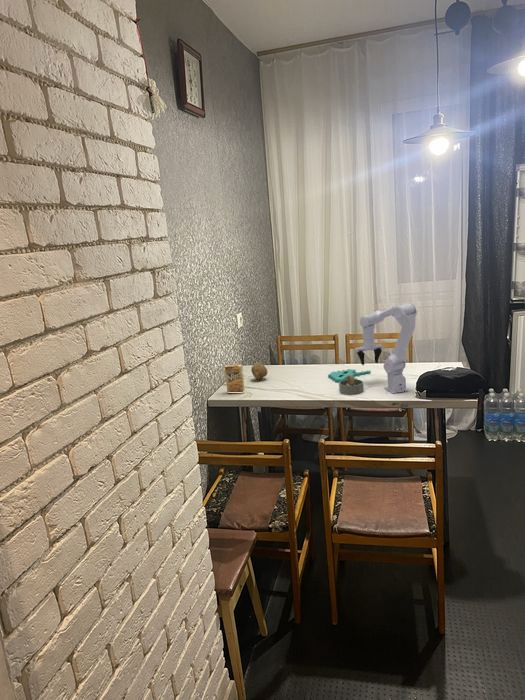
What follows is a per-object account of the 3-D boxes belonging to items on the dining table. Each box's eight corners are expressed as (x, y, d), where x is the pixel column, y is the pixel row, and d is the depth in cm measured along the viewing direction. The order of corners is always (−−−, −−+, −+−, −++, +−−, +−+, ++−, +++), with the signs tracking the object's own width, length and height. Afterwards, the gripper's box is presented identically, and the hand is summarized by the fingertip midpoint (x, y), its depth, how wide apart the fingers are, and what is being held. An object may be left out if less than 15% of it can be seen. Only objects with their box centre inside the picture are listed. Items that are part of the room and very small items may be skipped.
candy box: (227, 394, 264) (224, 366, 261) (229, 391, 268) (226, 364, 265) (243, 393, 263) (240, 365, 259) (245, 391, 267) (242, 363, 263)
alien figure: (370, 374, 278) (337, 372, 288) (370, 370, 277) (337, 368, 288) (358, 385, 261) (323, 382, 272) (358, 381, 261) (323, 378, 271)
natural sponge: (267, 376, 290) (265, 360, 288) (269, 381, 281) (267, 364, 279) (251, 378, 289) (250, 362, 287) (253, 383, 280) (251, 366, 278)
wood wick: (354, 390, 249) (354, 377, 248) (351, 390, 249) (351, 377, 247) (351, 387, 253) (350, 374, 252) (348, 388, 253) (347, 375, 251)
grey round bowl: (367, 392, 247) (366, 383, 246) (345, 396, 245) (344, 387, 244) (357, 386, 258) (357, 377, 257) (336, 389, 256) (335, 381, 255)
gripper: (378, 335, 262) (379, 360, 265) (352, 338, 259) (353, 363, 262) (384, 337, 255) (385, 363, 258) (357, 341, 252) (359, 367, 255)
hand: (369, 363), depth 259 cm, fingers open, 7 cm apart
